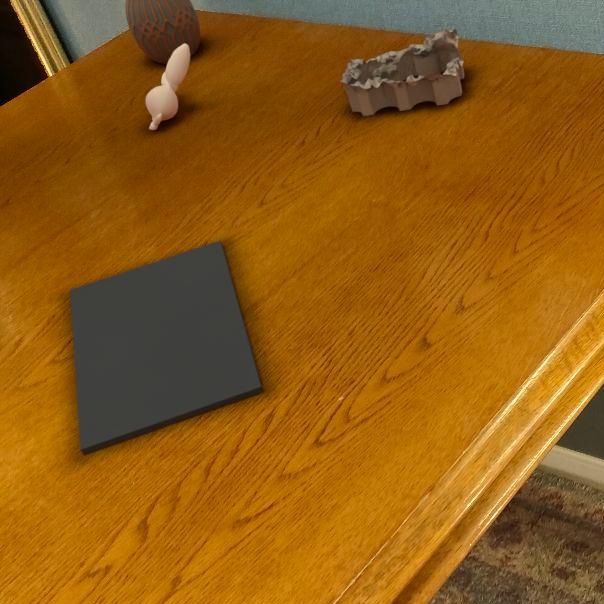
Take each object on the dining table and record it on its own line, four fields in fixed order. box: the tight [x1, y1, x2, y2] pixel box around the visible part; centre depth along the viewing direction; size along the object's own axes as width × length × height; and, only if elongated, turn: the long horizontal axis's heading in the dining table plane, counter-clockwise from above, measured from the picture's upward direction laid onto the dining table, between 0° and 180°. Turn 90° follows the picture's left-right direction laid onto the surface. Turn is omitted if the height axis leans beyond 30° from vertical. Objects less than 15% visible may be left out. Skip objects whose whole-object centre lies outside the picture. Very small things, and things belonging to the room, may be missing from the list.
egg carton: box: [340, 28, 465, 117], centre depth 90 cm, size 11×8×4 cm
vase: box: [124, 0, 201, 65], centre depth 103 cm, size 7×7×9 cm
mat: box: [69, 240, 265, 456], centre depth 71 cm, size 20×12×1 cm, turn 20°
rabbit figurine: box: [145, 44, 191, 131], centre depth 95 cm, size 6×4×8 cm
